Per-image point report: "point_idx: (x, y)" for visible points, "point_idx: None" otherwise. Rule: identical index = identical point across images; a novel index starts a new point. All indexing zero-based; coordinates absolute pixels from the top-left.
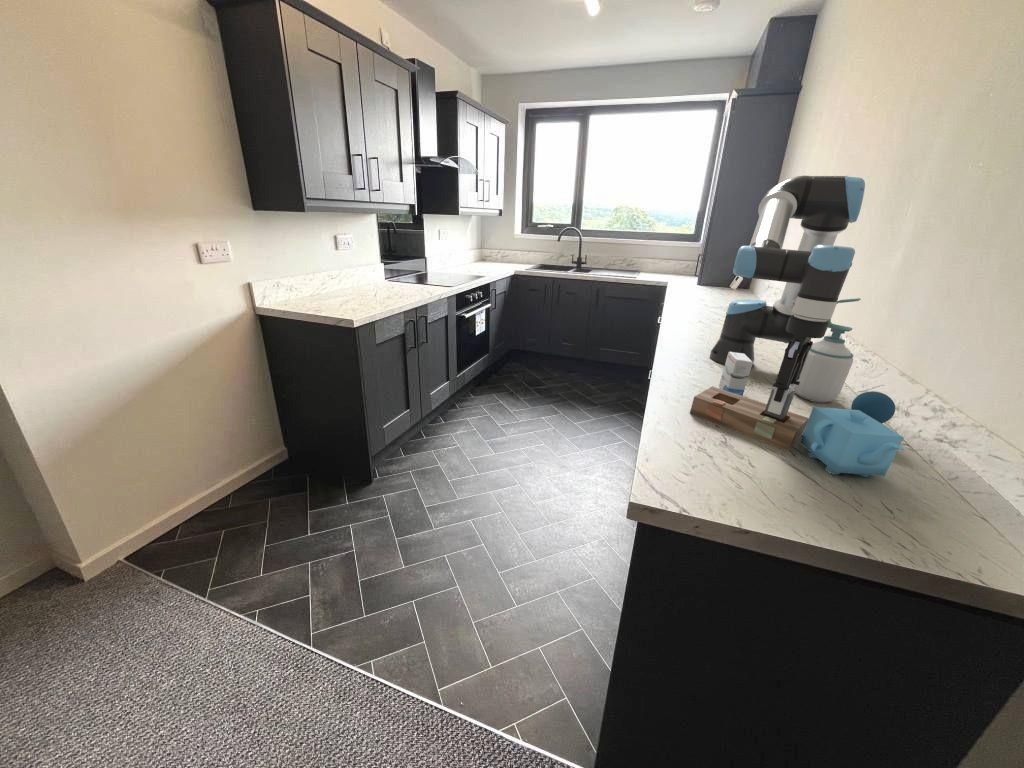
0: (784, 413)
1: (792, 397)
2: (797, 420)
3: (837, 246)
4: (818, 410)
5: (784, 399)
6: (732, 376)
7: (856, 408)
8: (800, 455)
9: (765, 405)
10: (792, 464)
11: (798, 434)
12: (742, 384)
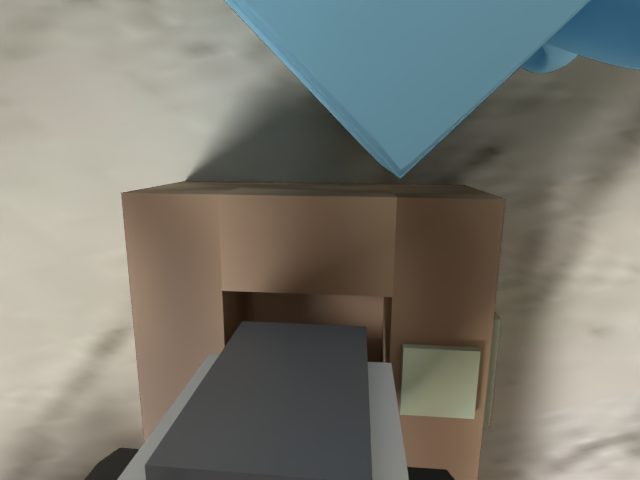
0: (344, 345)
1: (208, 415)
2: (249, 241)
3: None
4: (484, 98)
5: (406, 471)
6: None
7: None
8: (461, 124)
9: None
10: (620, 127)
11: (327, 188)
12: None
